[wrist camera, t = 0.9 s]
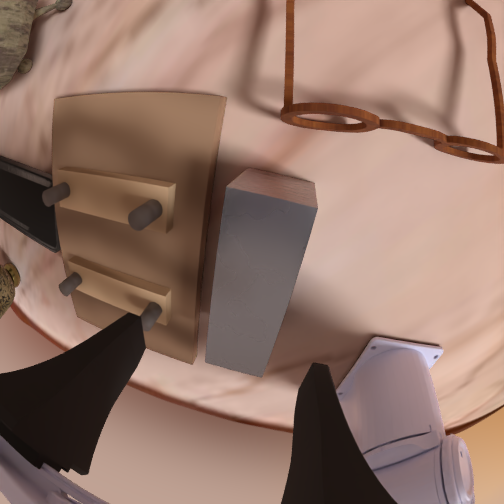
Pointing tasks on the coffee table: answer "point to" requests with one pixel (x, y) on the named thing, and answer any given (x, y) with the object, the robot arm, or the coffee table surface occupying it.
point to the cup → (7, 286)
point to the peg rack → (136, 208)
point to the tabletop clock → (19, 34)
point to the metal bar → (257, 266)
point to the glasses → (371, 122)
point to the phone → (28, 202)
